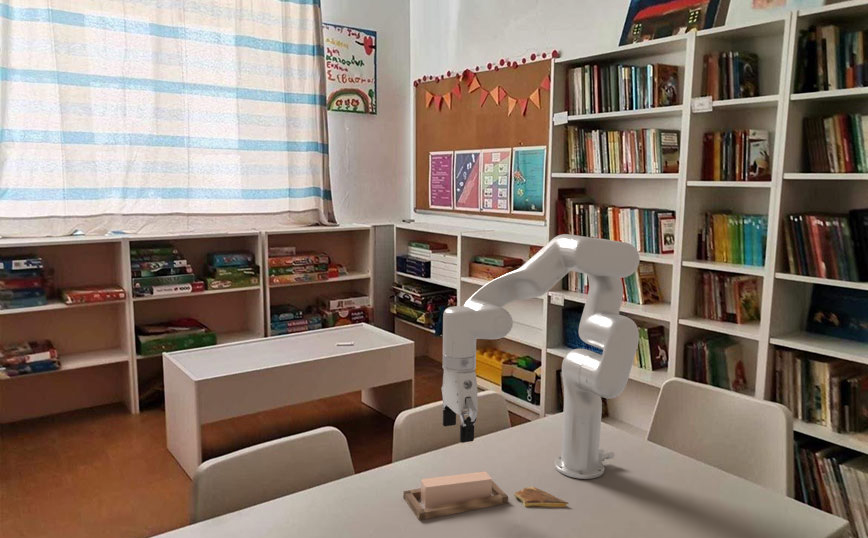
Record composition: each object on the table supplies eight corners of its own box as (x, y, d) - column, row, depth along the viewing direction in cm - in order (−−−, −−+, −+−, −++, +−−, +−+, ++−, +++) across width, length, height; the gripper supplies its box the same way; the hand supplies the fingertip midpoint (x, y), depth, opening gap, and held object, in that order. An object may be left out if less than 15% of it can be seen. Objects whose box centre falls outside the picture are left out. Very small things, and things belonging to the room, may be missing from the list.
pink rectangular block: (485, 492, 153) (485, 471, 153) (491, 501, 150) (491, 479, 149) (420, 501, 149) (421, 479, 148) (425, 510, 145) (425, 487, 144)
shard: (568, 508, 147) (568, 501, 147) (547, 520, 142) (548, 513, 142) (531, 491, 155) (531, 484, 155) (510, 501, 150) (511, 494, 150)
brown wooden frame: (487, 482, 158) (487, 476, 158) (507, 502, 148) (508, 496, 148) (403, 497, 150) (403, 491, 150) (419, 520, 140) (419, 513, 140)
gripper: (491, 370, 138) (489, 445, 141) (458, 349, 154) (457, 417, 156) (459, 374, 135) (458, 451, 138) (429, 352, 151) (428, 421, 154)
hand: (457, 433), depth 147 cm, fingers open, 9 cm apart
